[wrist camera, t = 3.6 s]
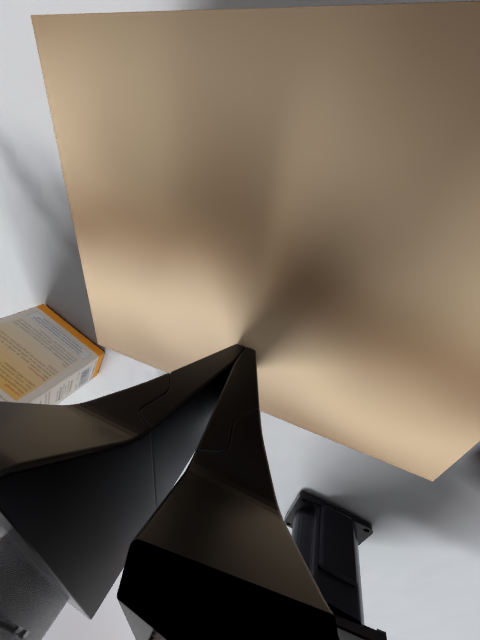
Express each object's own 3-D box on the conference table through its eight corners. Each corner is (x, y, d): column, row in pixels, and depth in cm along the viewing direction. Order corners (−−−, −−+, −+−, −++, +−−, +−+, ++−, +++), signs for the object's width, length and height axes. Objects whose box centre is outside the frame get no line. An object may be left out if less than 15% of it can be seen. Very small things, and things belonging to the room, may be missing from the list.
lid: (425, 461, 9) (432, 481, 9) (109, 337, 13) (98, 344, 12) (872, 28, 3) (1008, -17, 3) (58, 33, 7) (30, 15, 6)
